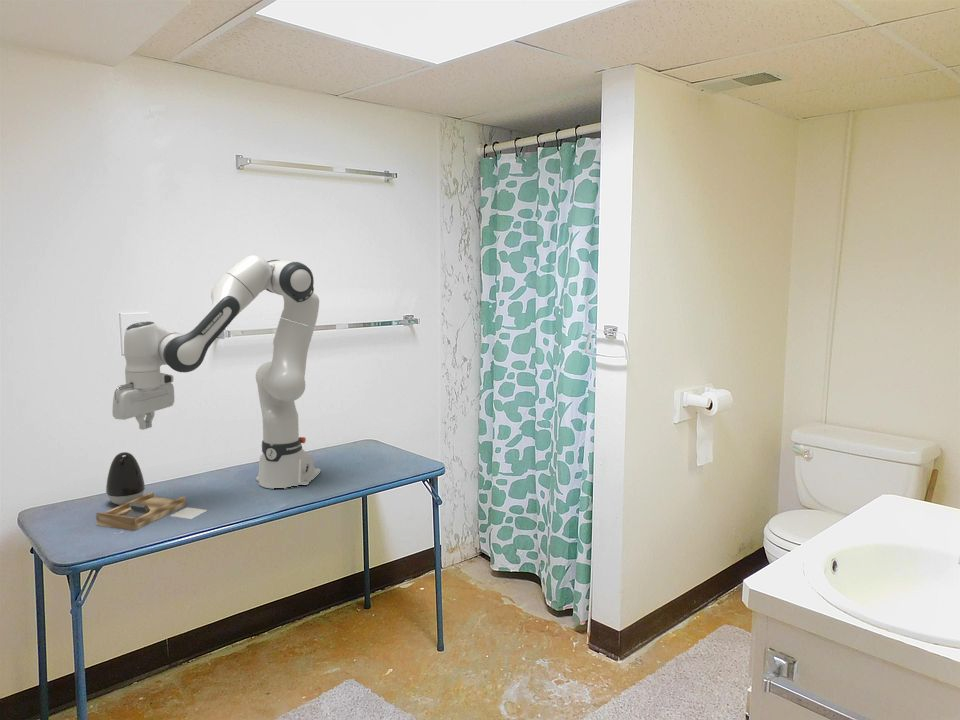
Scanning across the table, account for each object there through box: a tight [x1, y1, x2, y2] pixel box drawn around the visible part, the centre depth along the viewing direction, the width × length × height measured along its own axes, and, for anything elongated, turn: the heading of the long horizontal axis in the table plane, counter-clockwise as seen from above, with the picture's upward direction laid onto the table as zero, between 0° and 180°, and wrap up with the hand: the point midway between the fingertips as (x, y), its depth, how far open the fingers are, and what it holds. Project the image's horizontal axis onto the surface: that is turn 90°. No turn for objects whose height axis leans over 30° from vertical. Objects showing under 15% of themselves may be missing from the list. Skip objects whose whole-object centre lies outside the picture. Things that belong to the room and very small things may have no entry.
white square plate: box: [170, 507, 208, 520], centre depth 197 cm, size 7×7×1 cm
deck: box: [95, 491, 187, 531], centre depth 195 cm, size 20×12×4 cm, turn 164°
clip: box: [122, 503, 150, 519], centre depth 192 cm, size 5×5×2 cm
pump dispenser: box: [105, 451, 146, 506], centre depth 206 cm, size 10×10×15 cm
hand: (145, 428), depth 198 cm, fingers closed
